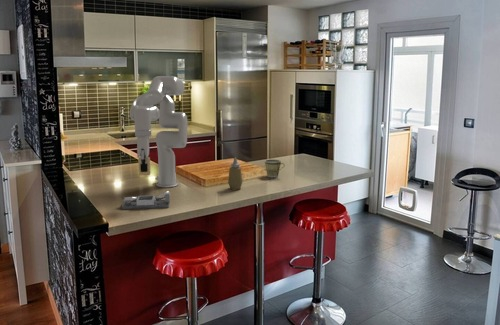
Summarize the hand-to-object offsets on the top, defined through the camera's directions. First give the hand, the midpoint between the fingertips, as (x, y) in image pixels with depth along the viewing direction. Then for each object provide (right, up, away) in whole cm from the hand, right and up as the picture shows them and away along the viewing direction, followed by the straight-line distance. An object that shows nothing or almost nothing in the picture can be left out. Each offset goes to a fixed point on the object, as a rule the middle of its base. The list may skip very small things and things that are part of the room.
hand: (144, 170), depth 211 cm
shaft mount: (0, -18, +3) cm, 18 cm away
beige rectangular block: (0, -2, 0) cm, 2 cm away
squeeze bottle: (+43, -11, +36) cm, 57 cm away
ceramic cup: (+67, -5, +65) cm, 93 cm away
